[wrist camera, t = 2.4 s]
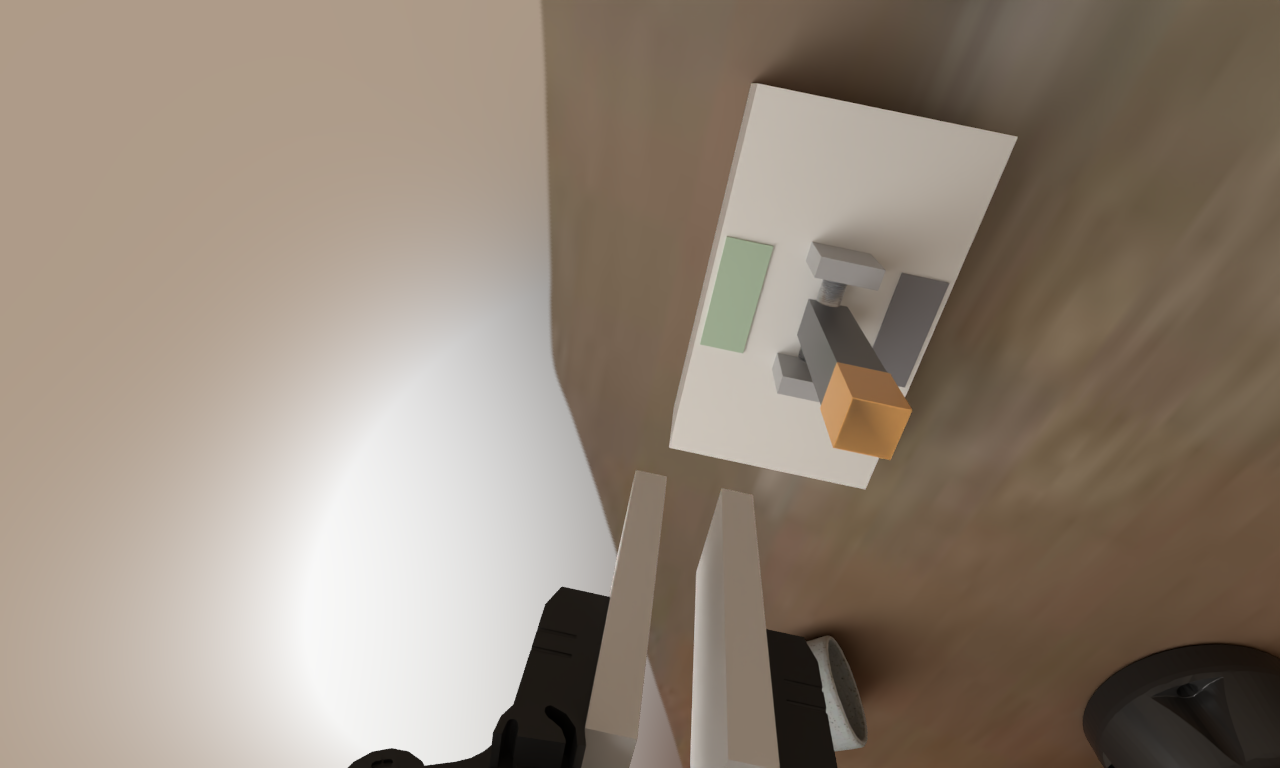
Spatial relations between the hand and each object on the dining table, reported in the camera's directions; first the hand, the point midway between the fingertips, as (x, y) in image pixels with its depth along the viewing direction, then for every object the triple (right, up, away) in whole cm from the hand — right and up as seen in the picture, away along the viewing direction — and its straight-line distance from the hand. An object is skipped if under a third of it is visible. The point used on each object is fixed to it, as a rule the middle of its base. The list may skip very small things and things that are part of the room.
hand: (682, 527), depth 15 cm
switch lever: (+8, +7, +16) cm, 20 cm away
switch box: (+9, +9, +22) cm, 25 cm away
